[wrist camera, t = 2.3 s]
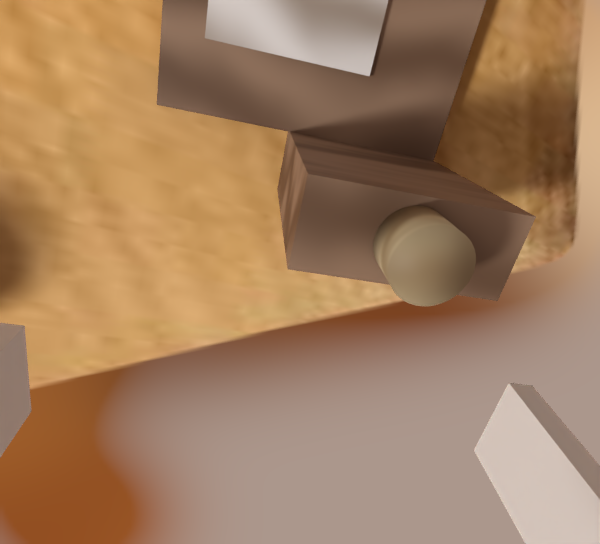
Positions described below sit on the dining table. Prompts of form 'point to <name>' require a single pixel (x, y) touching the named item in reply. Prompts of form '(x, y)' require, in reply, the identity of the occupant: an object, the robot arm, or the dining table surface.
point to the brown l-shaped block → (353, 133)
